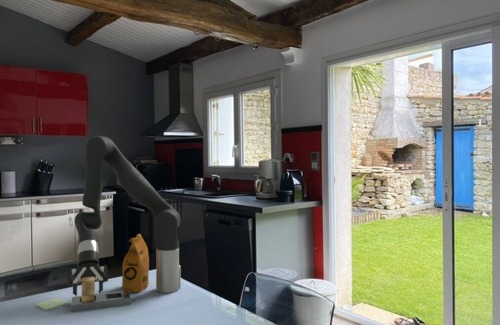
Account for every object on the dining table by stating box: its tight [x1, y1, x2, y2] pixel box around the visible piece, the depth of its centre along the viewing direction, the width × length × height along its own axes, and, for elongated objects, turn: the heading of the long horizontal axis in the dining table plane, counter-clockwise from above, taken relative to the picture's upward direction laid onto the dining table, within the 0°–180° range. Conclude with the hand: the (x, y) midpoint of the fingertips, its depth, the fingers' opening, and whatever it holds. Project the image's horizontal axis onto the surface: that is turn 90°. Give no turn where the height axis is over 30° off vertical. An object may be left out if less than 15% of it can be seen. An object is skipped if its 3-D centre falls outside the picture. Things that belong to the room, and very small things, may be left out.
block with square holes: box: [70, 290, 131, 313], centre depth 143 cm, size 20×9×2 cm, turn 113°
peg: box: [81, 276, 96, 302], centre depth 142 cm, size 4×4×10 cm
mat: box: [35, 297, 69, 311], centre depth 142 cm, size 8×8×1 cm
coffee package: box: [121, 233, 150, 294], centre depth 162 cm, size 10×12×22 cm
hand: (88, 293), depth 140 cm, fingers open, 7 cm apart
